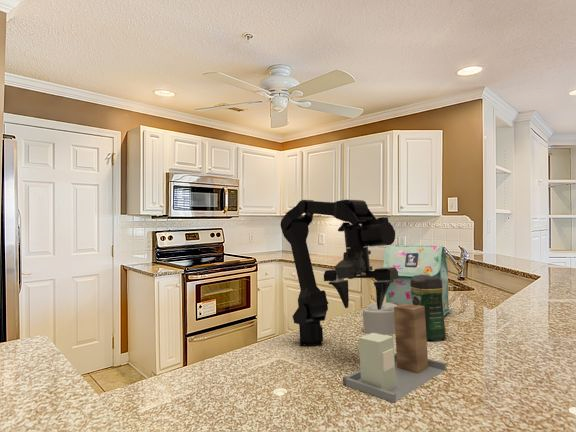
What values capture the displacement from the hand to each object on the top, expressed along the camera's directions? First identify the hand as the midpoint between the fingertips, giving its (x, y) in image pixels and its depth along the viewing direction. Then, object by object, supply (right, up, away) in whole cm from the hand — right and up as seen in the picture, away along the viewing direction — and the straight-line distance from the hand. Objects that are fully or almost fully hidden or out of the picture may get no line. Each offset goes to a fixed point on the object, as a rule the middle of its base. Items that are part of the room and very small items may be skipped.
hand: (362, 308), depth 92 cm
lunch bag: (+32, -15, +48) cm, 60 cm away
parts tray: (+5, -12, -14) cm, 19 cm away
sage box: (0, -11, -18) cm, 21 cm away
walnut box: (+10, -11, -9) cm, 17 cm away
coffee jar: (+24, -13, +17) cm, 32 cm away
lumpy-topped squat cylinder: (+12, -14, +26) cm, 32 cm away
